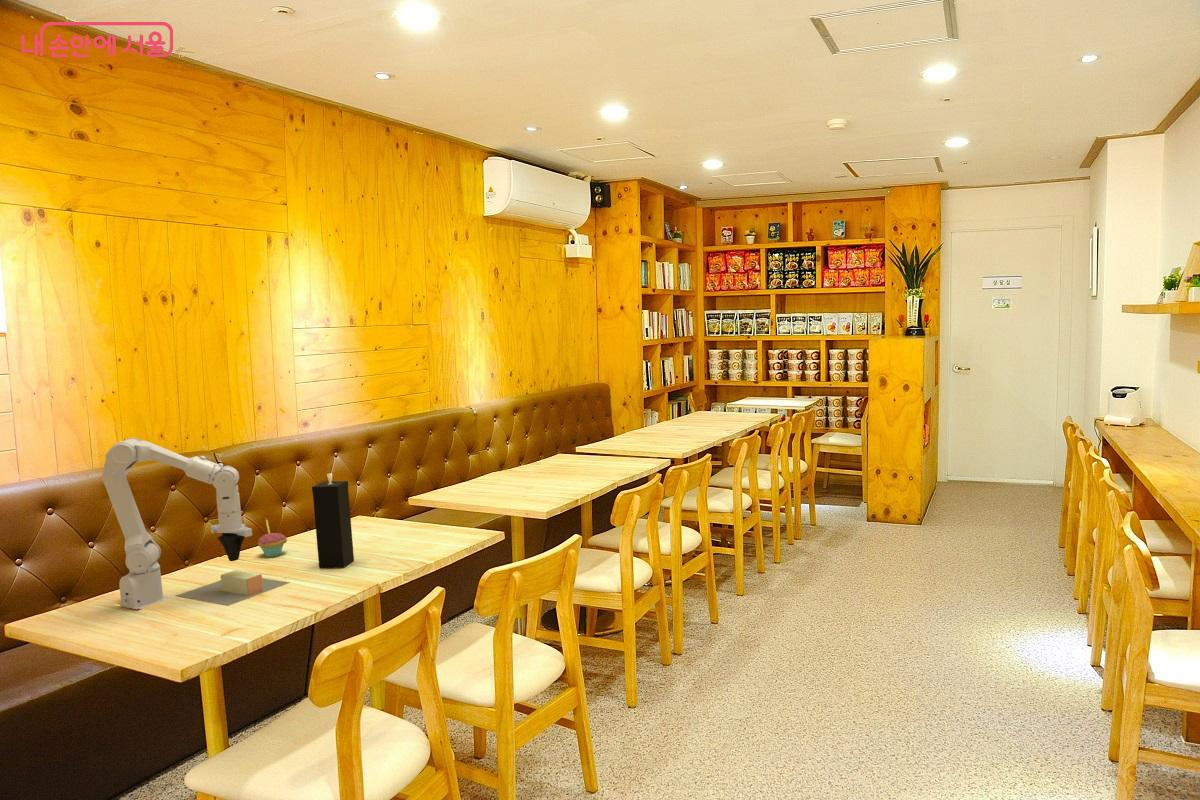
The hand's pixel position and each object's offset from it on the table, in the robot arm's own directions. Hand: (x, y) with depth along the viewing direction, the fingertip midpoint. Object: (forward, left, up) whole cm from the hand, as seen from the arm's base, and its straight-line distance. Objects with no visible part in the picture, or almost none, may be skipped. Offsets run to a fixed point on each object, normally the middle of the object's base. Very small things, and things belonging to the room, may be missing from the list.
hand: (234, 560), depth 226 cm
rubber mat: (0, +1, -9) cm, 9 cm away
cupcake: (+30, +21, -9) cm, 38 cm away
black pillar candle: (+29, -8, -9) cm, 31 cm away
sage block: (0, +3, -6) cm, 7 cm away
